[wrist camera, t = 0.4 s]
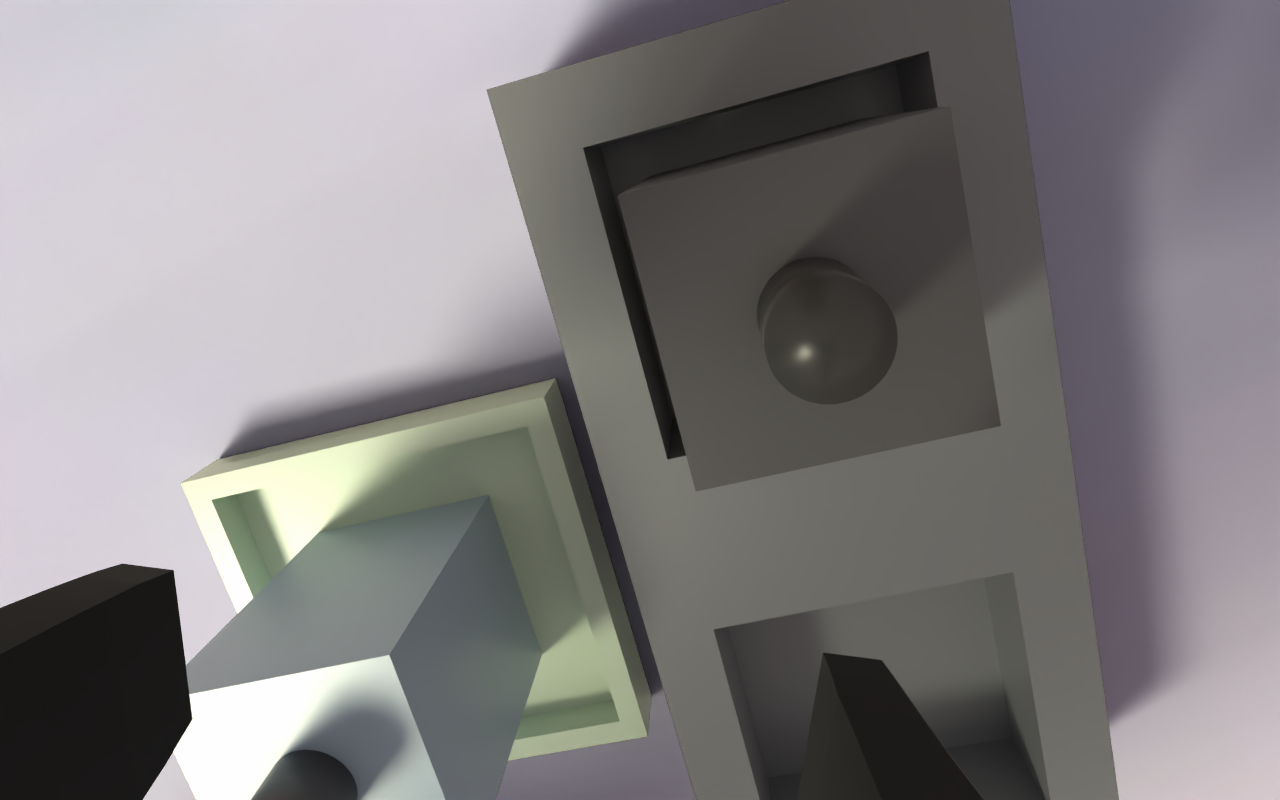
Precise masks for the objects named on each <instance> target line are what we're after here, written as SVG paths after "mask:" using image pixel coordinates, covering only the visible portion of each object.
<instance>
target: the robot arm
mask: <svg viewBox="0 0 1280 800" xmlns="http://www.w3.org/2000/svg"><path fill="white" fill-rule="evenodd" d="M192 719H193V718H192V711H191V703H190V695H189V687H188V680H187V672H186V664H185V656H184V648H183V641H182V633H181V625H180V617H179V609H178V602H177V594H176V586H175V578H174V570H167V569H159V568H151V567H143V566H136V565H128V564H120V565H116V566H113V567H110V568H107V569H103V570H100V571H97V572H94V573H91V574H88V575H85V576H82V577H80V578H77V579H74V580H71V581H69V582H66V583H63V584H61V585H58V586H55V587H53V588H50V589H47V590H45V591H42V592H40V593H37V594H35V595H32V596H29V597H27V598H24V599H22V600H19V601H17V602H14V603H12V604H9V605H7V606H4V607H2V608H0V800H143V798H144V797H145V795H146V794H147V792H148V790H149V789H150V787H151V786H152V784H153V783H154V781H155V780H156V778H157V777H158V775H159V774H160V772H161V771H162V769H163V767H164V766H165V764H166V763H167V761H168V759H169V758H170V756H171V754H172V753H173V751H174V749H175V748H176V746H177V744H178V743H179V741H180V739H181V738H182V736H183V734H184V733H185V731H186V729H187V728H188V726H189V724H190V723H191V721H192ZM797 800H984V798H983V797H982V796H981V794H980V793H979V792H978V791H977V789H976V788H975V787H974V786H973V784H972V783H971V782H970V780H969V779H968V778H967V776H966V775H965V774H964V772H963V771H962V770H961V768H960V767H959V766H958V764H957V763H956V762H955V760H954V759H953V758H952V756H951V755H950V754H949V752H948V751H947V750H946V748H945V747H944V745H943V744H942V743H941V741H940V740H939V739H938V737H937V736H936V735H935V733H934V732H933V730H932V729H931V728H930V726H929V725H928V723H927V722H926V721H925V719H924V718H923V716H922V715H921V714H920V712H919V711H918V709H917V708H916V707H915V705H914V704H913V702H912V701H911V700H910V698H909V697H908V695H907V694H906V692H905V691H904V690H903V688H902V687H901V685H900V684H899V683H898V681H897V680H896V678H895V677H894V676H893V674H892V673H891V672H890V670H889V669H888V668H887V666H886V665H885V664H884V662H883V661H882V660H878V659H870V658H863V657H855V656H847V655H839V654H831V653H823V655H822V661H821V667H820V672H819V678H818V683H817V689H816V695H815V700H814V706H813V712H812V717H811V723H810V729H809V734H808V740H807V745H806V751H805V757H804V762H803V768H802V774H801V779H800V785H799V790H798V796H797Z"/></svg>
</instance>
